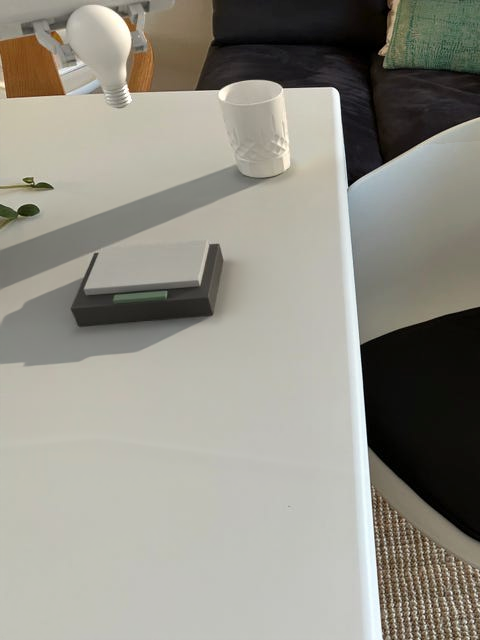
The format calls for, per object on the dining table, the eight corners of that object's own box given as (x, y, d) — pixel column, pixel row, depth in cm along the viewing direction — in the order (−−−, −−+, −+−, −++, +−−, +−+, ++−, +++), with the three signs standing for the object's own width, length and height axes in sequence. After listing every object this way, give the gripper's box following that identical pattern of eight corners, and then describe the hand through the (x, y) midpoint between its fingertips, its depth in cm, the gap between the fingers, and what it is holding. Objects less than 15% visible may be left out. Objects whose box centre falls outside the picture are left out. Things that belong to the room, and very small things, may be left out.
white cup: (257, 186, 98) (241, 110, 92) (222, 167, 102) (204, 92, 96) (307, 165, 103) (295, 91, 96) (271, 147, 107) (258, 74, 100)
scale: (78, 326, 77) (67, 302, 75) (100, 269, 84) (91, 246, 82) (213, 315, 78) (206, 290, 76) (223, 260, 86) (217, 236, 84)
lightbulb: (160, 98, 91) (132, -2, 84) (132, 120, 86) (101, 17, 79) (109, 94, 92) (78, -5, 84) (80, 116, 87) (44, 13, 80)
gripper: (147, -56, 92) (196, 52, 92) (-45, -29, 83) (10, 91, 83) (149, -93, 86) (201, 23, 86) (-58, -67, 77) (1, 61, 77)
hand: (106, 57), depth 85 cm, fingers closed on lightbulb, 6 cm apart
